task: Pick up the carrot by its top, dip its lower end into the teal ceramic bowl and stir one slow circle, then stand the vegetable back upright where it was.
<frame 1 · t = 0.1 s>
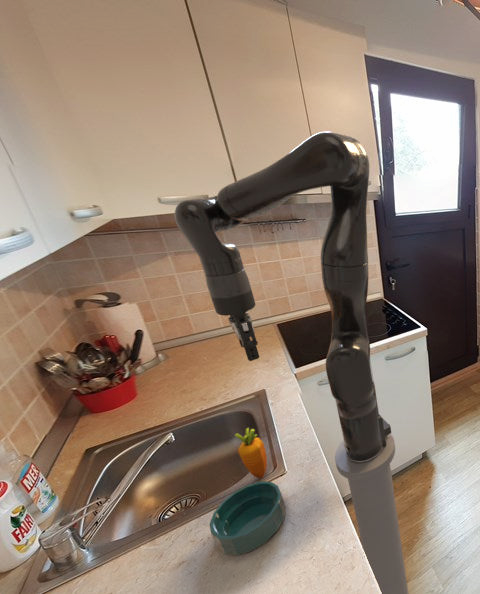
hand: (250, 352, 80), 29 cm above the worktop, tool pointing down, fingers open, 8 cm apart
carrot: (261, 478, 81), on the worktop
bowl: (253, 525, 70), on the worktop
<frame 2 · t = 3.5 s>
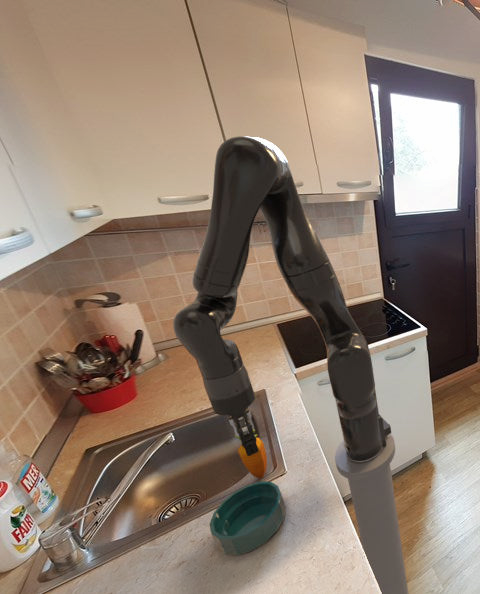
hand: (250, 446, 77), 10 cm above the worktop, tool pointing down, fingers closed on carrot, 4 cm apart
carrot: (261, 478, 81), on the worktop, touching gripper
everything else where it was.
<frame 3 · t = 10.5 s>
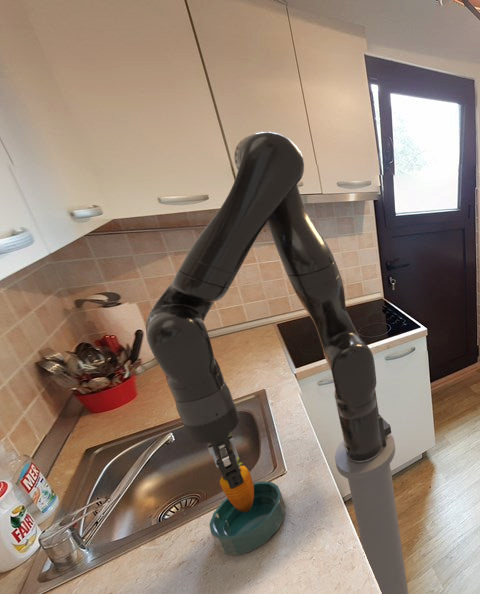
hand: (234, 476, 66), 13 cm above the worktop, tool pointing down, fingers closed on carrot, 4 cm apart
carrot: (248, 511, 70), point 3 cm above the worktop, touching gripper
everything else where it was.
when the fingers open (10 cm above the worktop, at t = 17.9 s): carrot stays where it is, on the worktop.
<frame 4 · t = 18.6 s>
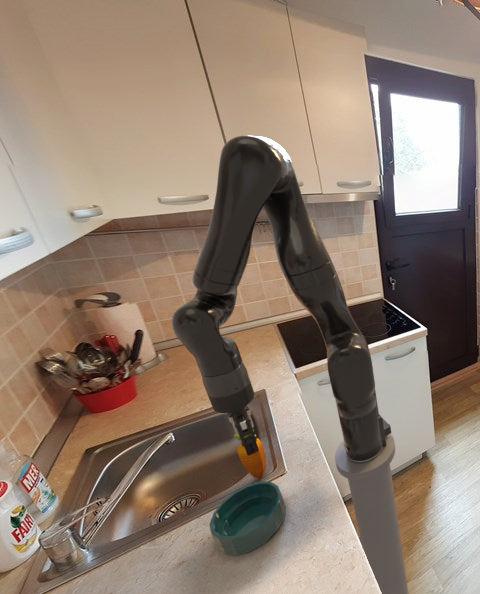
hand: (249, 441, 76), 12 cm above the worktop, tool pointing down, fingers open, 8 cm apart
carrot: (261, 478, 81), on the worktop
everything else where it was.
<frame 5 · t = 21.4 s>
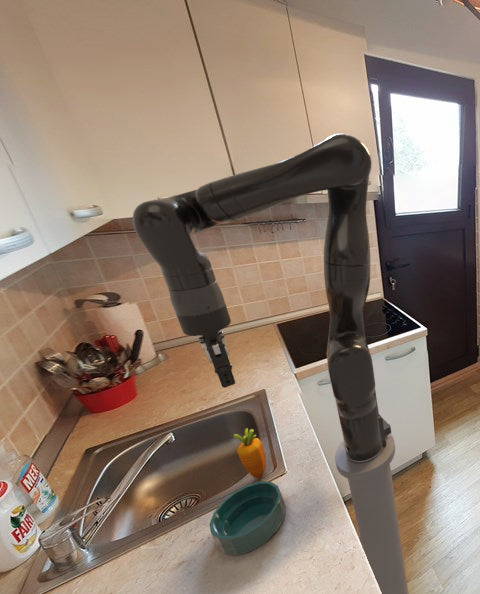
hand: (225, 376, 69), 30 cm above the worktop, tool pointing down, fingers open, 8 cm apart
nothing on the worktop moved.
at the end: carrot 0.2 cm from the target spot, on the worktop; carrot tilted 0°; bowl moved 0.0 cm from its start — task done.
